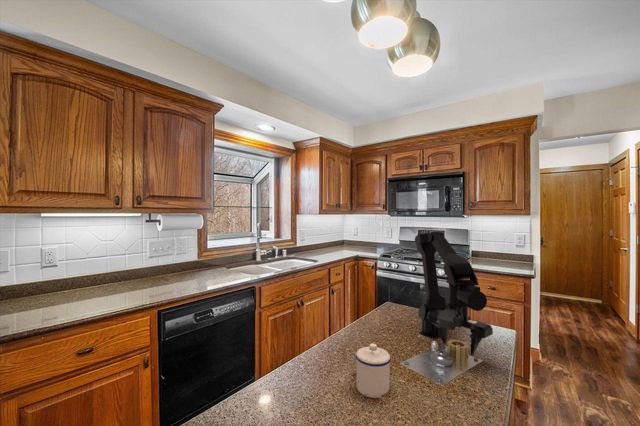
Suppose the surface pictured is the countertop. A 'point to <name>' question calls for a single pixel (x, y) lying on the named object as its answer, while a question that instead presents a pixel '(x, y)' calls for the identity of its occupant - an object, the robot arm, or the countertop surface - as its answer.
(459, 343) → the planet gear
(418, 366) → the carrier plate
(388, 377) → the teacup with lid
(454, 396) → the countertop surface
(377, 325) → the countertop surface
